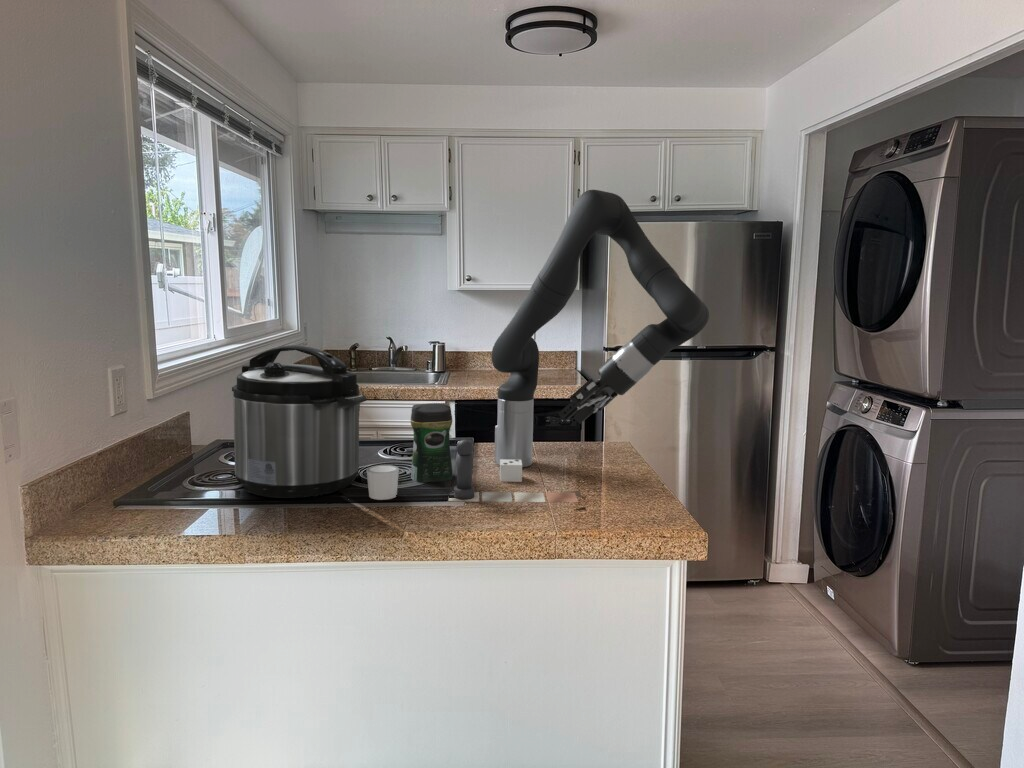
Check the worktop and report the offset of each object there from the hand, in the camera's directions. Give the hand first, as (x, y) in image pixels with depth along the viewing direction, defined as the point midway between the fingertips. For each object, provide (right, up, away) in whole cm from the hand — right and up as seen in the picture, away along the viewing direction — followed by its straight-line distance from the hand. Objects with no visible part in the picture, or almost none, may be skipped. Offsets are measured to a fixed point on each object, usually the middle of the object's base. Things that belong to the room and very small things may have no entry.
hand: (569, 418), depth 146 cm
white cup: (-40, -18, +1) cm, 43 cm away
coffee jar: (-31, -16, +16) cm, 38 cm away
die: (-12, -16, +16) cm, 26 cm away
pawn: (-22, -17, +1) cm, 28 cm away
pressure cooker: (-61, -16, +13) cm, 64 cm away
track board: (-12, -18, +2) cm, 22 cm away
